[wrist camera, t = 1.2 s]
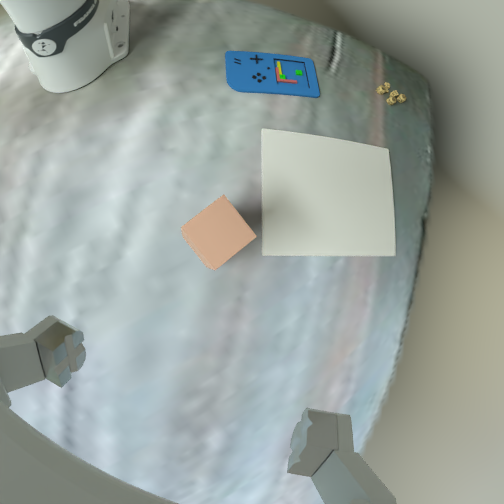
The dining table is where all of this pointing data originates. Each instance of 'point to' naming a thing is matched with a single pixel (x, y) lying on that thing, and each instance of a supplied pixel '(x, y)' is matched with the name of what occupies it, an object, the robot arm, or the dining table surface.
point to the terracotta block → (217, 233)
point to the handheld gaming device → (271, 74)
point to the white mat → (325, 197)
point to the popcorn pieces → (391, 99)
